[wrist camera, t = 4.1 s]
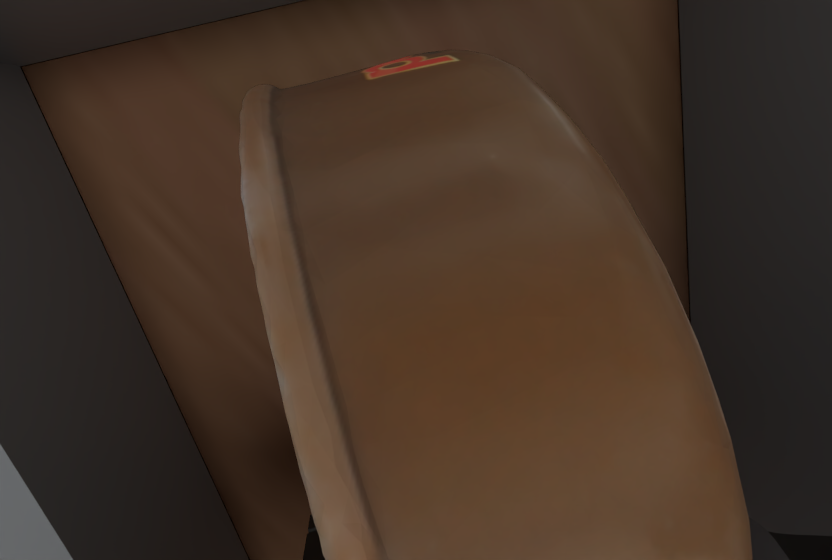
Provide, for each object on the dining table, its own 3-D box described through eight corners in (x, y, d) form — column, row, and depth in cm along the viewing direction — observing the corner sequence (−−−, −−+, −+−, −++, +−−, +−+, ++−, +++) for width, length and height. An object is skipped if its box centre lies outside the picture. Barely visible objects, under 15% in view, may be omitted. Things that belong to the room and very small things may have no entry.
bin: (723, -161, 8) (1022, -423, 4) (730, 610, 15) (855, 772, 11) (-63, 19, 8) (-463, -98, 4) (294, 728, 14) (265, 939, 10)
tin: (294, 120, 9) (-302, -98, 1) (439, 79, 9) (934, -422, 1) (458, 614, 14) (581, 1282, 6) (554, 586, 14) (814, 1209, 6)
